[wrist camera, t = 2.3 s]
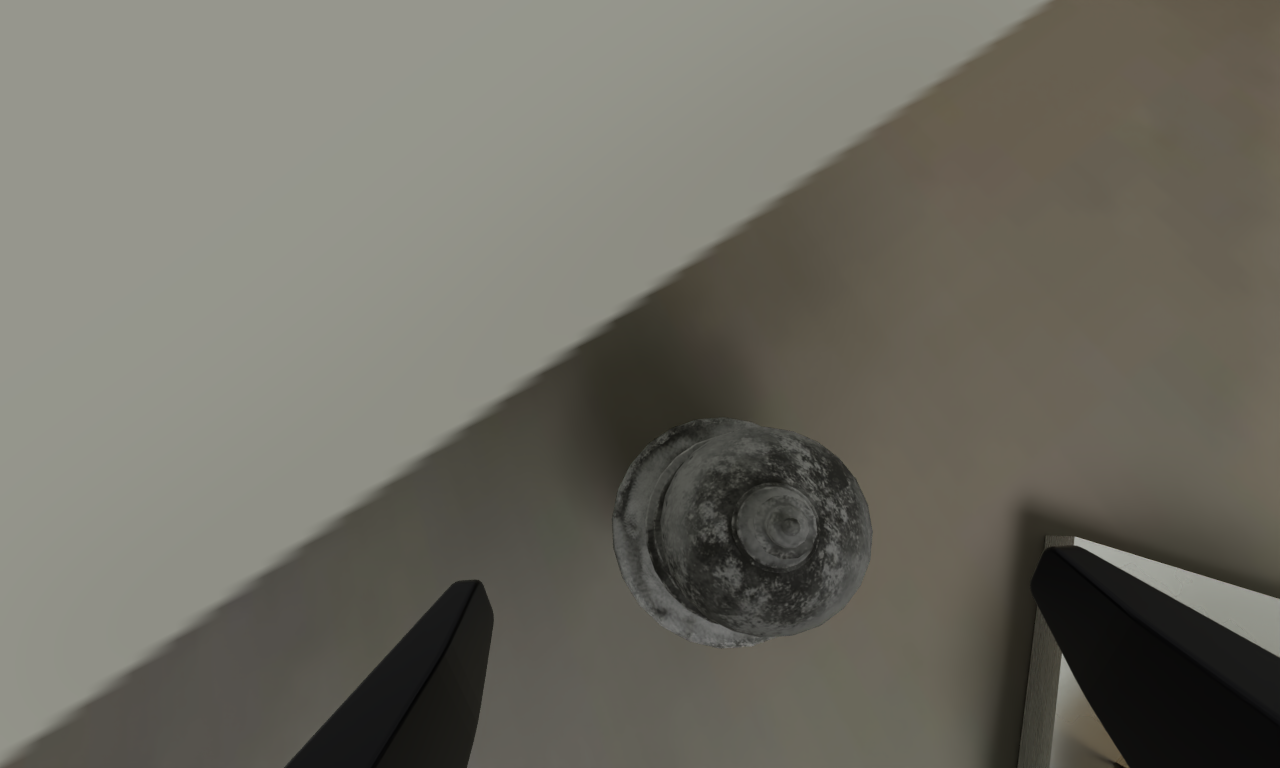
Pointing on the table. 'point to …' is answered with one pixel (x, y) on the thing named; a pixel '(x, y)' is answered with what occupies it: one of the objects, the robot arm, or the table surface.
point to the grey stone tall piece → (740, 532)
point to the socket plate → (1055, 705)
